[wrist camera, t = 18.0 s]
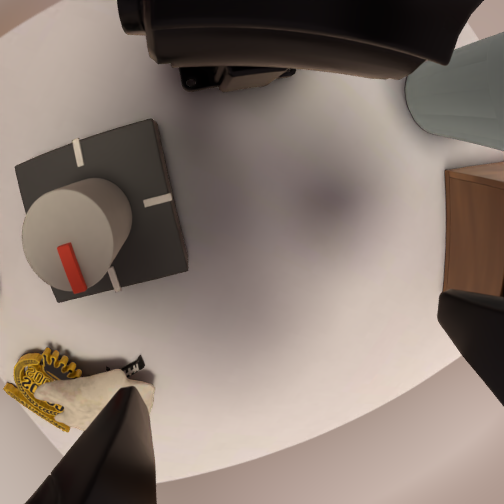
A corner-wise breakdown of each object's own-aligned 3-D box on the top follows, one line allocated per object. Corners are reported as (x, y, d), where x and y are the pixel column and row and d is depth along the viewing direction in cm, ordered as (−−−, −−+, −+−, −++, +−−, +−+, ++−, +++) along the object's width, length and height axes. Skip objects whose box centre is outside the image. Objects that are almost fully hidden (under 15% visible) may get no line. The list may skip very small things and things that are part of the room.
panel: (31, 162, 15) (10, 165, 13) (158, 120, 16) (153, 115, 14) (69, 287, 18) (55, 306, 15) (190, 257, 19) (191, 273, 17)
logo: (2, 390, 18) (25, 334, 17) (6, 384, 19) (29, 328, 17) (67, 433, 20) (104, 388, 19) (69, 427, 21) (106, 381, 20)
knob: (51, 191, 14) (5, 209, 9) (120, 167, 14) (94, 175, 10) (73, 263, 15) (40, 304, 11) (141, 244, 16) (126, 281, 11)
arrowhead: (140, 362, 18) (182, 439, 23) (134, 339, 19) (173, 418, 24) (27, 396, 15) (94, 465, 20) (28, 372, 16) (90, 444, 21)
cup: (385, 41, 17) (501, 4, 7) (457, 60, 18) (561, 49, 8) (395, 146, 19) (522, 161, 10) (465, 149, 21) (572, 168, 11)
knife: (62, 407, 21) (61, 410, 20) (49, 395, 20) (48, 397, 20) (149, 363, 21) (149, 366, 20) (136, 348, 20) (135, 351, 20)
